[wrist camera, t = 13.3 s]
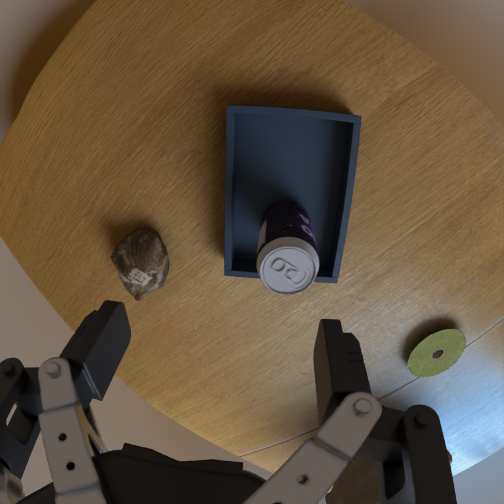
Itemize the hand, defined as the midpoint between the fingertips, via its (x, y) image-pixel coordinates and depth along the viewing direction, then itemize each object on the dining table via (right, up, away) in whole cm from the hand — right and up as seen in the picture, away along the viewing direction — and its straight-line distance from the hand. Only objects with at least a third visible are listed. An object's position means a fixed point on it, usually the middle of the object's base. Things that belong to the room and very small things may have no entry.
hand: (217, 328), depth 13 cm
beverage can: (+5, +7, +26) cm, 27 cm away
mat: (+32, -13, +34) cm, 49 cm away
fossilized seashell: (-13, +3, +30) cm, 33 cm away
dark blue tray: (+5, +10, +24) cm, 27 cm away
